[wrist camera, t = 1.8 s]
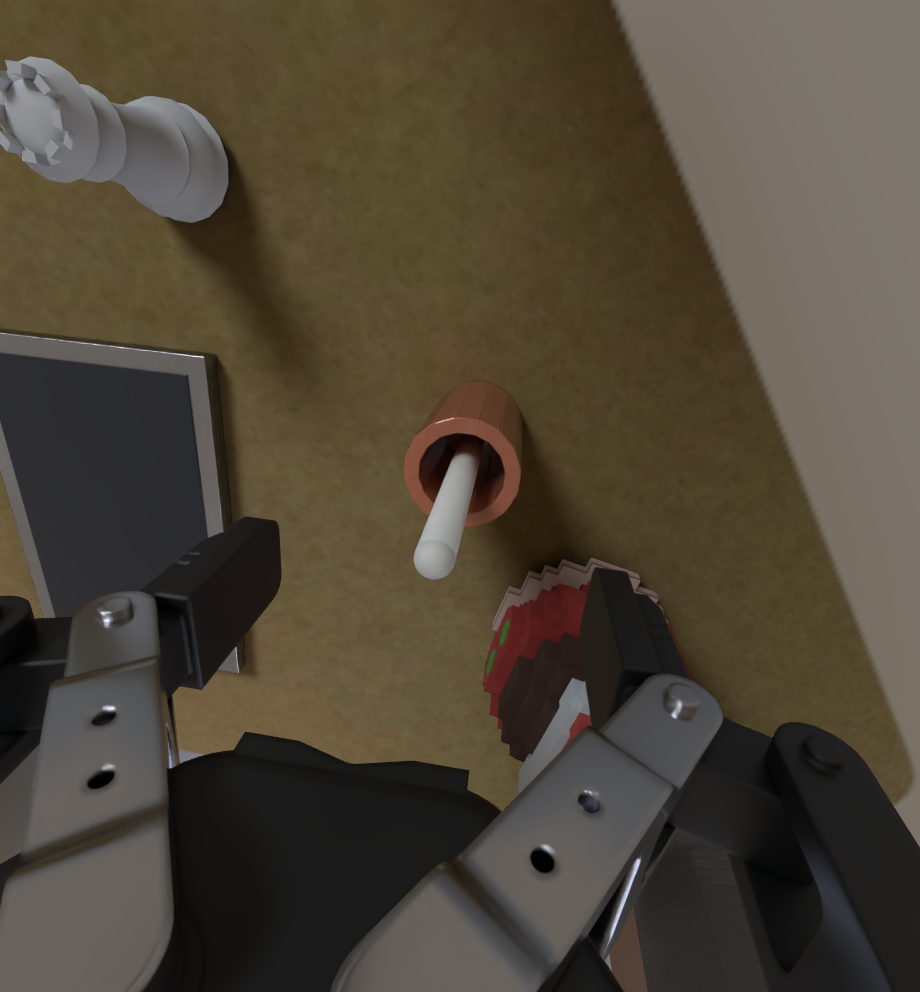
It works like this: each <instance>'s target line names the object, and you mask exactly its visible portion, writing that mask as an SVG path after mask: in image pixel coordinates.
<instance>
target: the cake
mask: <svg viewBox="0 0 920 992" xmlns="http://www.w3.org/2000/svg"><path fill="white" fill-rule="evenodd" d="M595 567H600V568H607V569H614V570H621V571H626V572H627V573H628V575H629V578H630V581H631V584H632V587H633V590H634V593H639V594H645V595H648V596H649V597H650V598H651V599H652V600H653V601H654V602H655V603H657V601H658V600H659V599H658V596H657V594H656V592H654V591H651V590H648V589H646V588H643V587H640V586H638V585H639V583H640V581H641V580H640V577H639V575H638V574H637V573H634V572H631V571H628V570H626V569H623V568H620V567H617V566H614V565H612V564H609V563H606V562H603V561H600V560H598V559H595V558H592V557H591V558H590V560H589V562H588V564H587V566H586V567H584V566H581V565H578V564H575V563H572V562H570V561H567V560H564V559H562V560H561V563H560V565H559V567H558V569H556V568H553V567H551V566H548V565H545V567H544V569H543V571H542V574H538V573H535V572H532V571H529V573H528V575H527V577H526V579H525V581H524V583H523V585H522V588H521V590H520V589H517V588H514V587H511V586H509V587H508V589H507V592H506V594H505V596H504V598H503V601H502V603H501V605H500V607H499V609H498V612H497V614H496V616H495V618H494V620H493V625H492V630H495V631H497V632H496V634H495V636H494V639H493V641H492V643H491V645H490V650H489V653H488V658H487V660H486V662H485V671H484V681H483V686H485V688H484V691H486V692H489V693H491V705H490V715H492V716H495V717H498V728H499V729H502V736H501V742H504V743H507V744H509V745H510V756H512V757H514V759H517V760H520V761H523V762H524V763H523V765H522V767H521V769H520V770H519V772H518V793H521V792H522V791H523V790H524V789H525V788H526V787H527V785H528V784H529V783H530V782H531V781H532V780H533V779H534V778H535V777H536V776H537V775H538V774H539V773H540V772H541V771H542V770H543V769H544V768H545V767H546V766H547V765H548V764H549V763H550V762H551V761H552V760H553V759H554V758H555V757H556V756H557V755H558V754H559V753H560V752H561V751H562V750H563V748H564V747H565V746H566V745H567V744H568V743H569V742H570V741H571V740H572V739H573V738H574V737H575V736H576V735H577V734H578V733H579V732H580V731H581V730H582V729H583V728H585V727H586V726H592V724H591V717H590V711H589V704H588V697H587V690H586V684H585V677H584V670H583V663H582V657H581V650H580V625H581V619H582V614H583V610H584V606H585V602H586V597H587V593H588V589H589V584H590V580H591V576H592V573H593V570H594V568H595ZM657 605H658V604H657ZM658 606H659V607H660V608H661V609H662V612H663V614H664V611H663V608H662V606H660V605H658ZM666 621H667V627H669V629H670V631H671V628H670V625H669V623H668V620H667V619H666ZM671 634H672V636H673V637H672V639H673V640H674V641H675V643H676V640H675V638H674V635H673V633H672V631H671ZM676 646H677V648H678V651H679V653H680V655H681V652H680V650H679V647H678V645H677V643H676ZM681 658H682V660H683V663H684V665H685V668H686V670H687V672H688V669H687V667H686V664H685V662H684V659H683V657H682V655H681ZM688 675H689V677H690V674H689V672H688ZM690 680H691V681H692V679H691V677H690ZM610 960H611V969H612V973H613V975H614V976H615V978H616V980H617V981H618V983H619V984H620V986H621V987H622V989H623V991H624V992H648V991H647V985H646V979H645V973H644V967H643V961H642V955H641V949H640V943H639V937H638V932H637V926H636V920H635V914H634V908H632V910H631V912H630V914H629V916H628V918H627V920H626V922H625V924H624V926H623V928H622V930H621V932H620V934H619V936H618V938H617V940H616V942H615V944H614V946H613V947H612V949H611V951H610Z"/></svg>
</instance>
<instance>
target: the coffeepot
mask: <svg viewBox="0 0 920 992" xmlns="http://www.w3.org/2000/svg"><path fill="white" fill-rule="evenodd" d="M633 908H634V914H635V920H636V926H637V932H638V937H639V943H640V949H641V955H642V961H643V967H644V973H645V979H646V985H647V991H648V992H768V989H767V986H766V982H765V979H764V976H763V972H762V969H761V965H760V962H759V959H758V955H757V952H756V948H755V945H754V942H753V938H752V935H751V931H750V928H749V925H748V921H747V918H746V914H745V911H744V908H743V904H742V901H741V897H740V894H739V891H738V887H737V884H736V880H735V877H734V874H733V870H732V867H731V863H730V860H729V857H728V853H727V852H726V851H724V850H722V849H720V848H718V847H715V846H713V845H711V844H709V843H707V842H705V841H703V840H701V839H699V838H697V837H695V836H693V835H691V834H688V833H686V832H684V831H682V830H680V829H678V831H677V832H676V834H675V836H674V837H673V839H672V841H671V842H670V844H669V846H668V848H667V849H666V851H665V853H664V854H663V856H662V858H661V859H660V861H659V863H658V865H657V866H656V868H655V870H654V871H653V873H652V875H651V876H650V878H649V880H648V881H647V883H646V885H645V887H644V888H643V890H642V892H641V893H640V895H639V897H638V899H637V900H636V902H635V904H634V906H633Z"/></svg>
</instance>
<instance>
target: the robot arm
mask: <svg viewBox="0 0 920 992" xmlns="http://www.w3.org/2000/svg"><path fill="white" fill-rule="evenodd" d="M280 582H281V554H280V535H279V526H278V524H277V522H276V521H274V520H268V519H261V518H254V517H244V518H242V519H241V520H240V521H238V522H237V523H236V524H235V525H234V526H233V527H231V528H230V529H229V530H228V531H227V532H225V533H224V532H221V533H218V534H216V535H214V536H211V537H209V538H207V539H204V540H202V541H201V542H199V543H198V544H197V545H196V546H194V547H193V548H192V549H191V550H190V551H188V554H185V555H183V556H182V557H181V558H180V559H178V560H177V562H176V563H173V564H172V565H171V566H170V567H168V568H167V569H166V570H165V571H163V572H162V573H161V574H160V575H159V576H157V577H156V578H155V579H154V580H152V581H151V582H150V583H149V584H147V585H146V586H145V587H144V588H142V589H141V590H140V591H122V592H116V593H111V594H107V595H104V596H101V597H99V598H96V599H94V600H92V601H90V602H88V603H86V604H85V605H83V606H82V607H81V608H79V609H78V610H77V612H76V613H75V614H74V616H73V617H56V618H38V619H34V615H33V612H32V608H31V605H30V603H29V601H28V600H26V599H24V598H21V597H17V596H0V784H1V783H2V782H3V781H4V780H5V779H6V778H7V777H8V776H9V775H10V774H11V773H12V772H13V770H15V769H16V767H17V766H19V764H20V763H21V762H22V761H23V760H24V759H25V758H26V757H27V756H28V755H29V754H30V753H31V752H32V751H33V750H34V749H35V748H36V747H37V746H38V745H39V750H38V757H37V762H36V767H35V773H34V779H33V785H32V791H31V796H30V802H29V808H28V814H27V820H26V825H25V831H24V837H23V843H22V849H21V853H19V854H17V855H16V856H14V857H12V858H10V859H8V860H7V861H5V862H3V863H1V864H0V992H624V991H623V989H622V987H621V986H620V984H619V983H618V981H617V980H616V978H615V976H614V975H613V973H612V972H611V970H610V969H609V967H608V965H607V964H606V963H605V960H606V958H607V956H608V955H609V953H610V951H611V949H612V947H613V946H614V944H615V942H616V940H617V938H618V936H619V934H620V932H621V930H622V928H623V926H624V924H625V922H626V920H627V918H628V916H629V914H630V912H631V910H632V908H633V906H634V904H635V902H636V900H637V899H638V897H639V895H640V893H641V892H642V890H643V888H644V887H645V885H646V883H647V881H648V880H649V878H650V876H651V875H652V873H653V871H654V870H655V868H656V866H657V865H658V863H659V861H660V859H661V858H662V856H663V854H664V853H665V851H666V849H667V848H668V846H669V844H670V842H671V841H672V839H673V837H674V836H675V834H676V832H677V831H678V829H680V830H682V831H684V832H686V833H688V834H691V835H693V836H695V837H697V838H699V839H701V840H703V841H705V842H707V843H709V844H711V845H713V846H715V847H718V848H720V849H722V850H724V851H726V852H727V853H728V857H729V860H730V863H731V867H732V870H733V874H734V877H735V880H736V884H737V887H738V891H739V894H740V897H741V901H742V904H743V908H744V911H745V914H746V918H747V921H748V925H749V928H750V931H751V935H752V938H753V942H754V945H755V948H756V952H757V955H758V959H759V962H760V965H761V969H762V972H763V976H764V979H765V982H766V986H767V989H768V992H920V847H919V846H918V844H917V842H916V841H915V839H914V838H913V836H912V834H911V833H910V831H909V830H908V828H907V827H906V825H905V823H904V822H903V820H902V819H901V817H900V816H899V814H898V812H897V811H896V809H895V808H894V806H893V805H892V803H891V802H890V800H889V798H888V797H887V795H886V794H885V792H884V791H883V789H882V787H881V786H880V784H879V783H878V781H877V780H876V778H875V776H874V775H873V773H872V772H871V770H870V769H869V767H868V765H867V764H866V763H865V761H864V760H863V759H862V758H861V757H860V755H859V754H858V753H857V752H856V751H854V750H853V749H852V748H851V747H850V746H849V745H847V744H846V743H845V742H844V741H842V740H841V739H839V738H838V737H836V736H834V735H832V734H831V733H829V732H827V731H825V730H823V729H820V728H818V727H815V726H812V725H809V724H805V723H798V722H790V723H785V724H782V725H781V726H779V727H778V728H777V730H776V732H775V734H774V736H773V738H772V737H769V736H767V735H764V734H762V733H759V732H757V731H754V730H752V729H749V728H746V727H744V726H741V725H739V724H737V723H734V722H732V721H730V720H728V719H726V718H725V717H723V712H722V709H721V707H720V705H719V703H718V702H717V700H716V699H715V698H714V697H713V696H712V695H711V694H710V693H709V692H708V691H707V690H706V689H704V688H703V687H702V686H700V685H698V684H697V683H695V682H693V681H691V680H690V677H689V675H688V672H687V670H686V668H685V665H684V663H683V660H682V658H681V655H680V653H679V651H678V648H677V646H676V643H675V641H674V640H673V639H672V637H673V636H672V634H671V631H670V629H669V627H667V621H666V619H665V617H664V614H663V612H662V609H661V608H660V607H659V606H658V605H657V604H656V603H655V602H654V601H653V600H652V599H651V598H650V597H649V596H648V595H645V594H639V593H634V590H633V587H632V584H631V581H630V578H629V575H628V573H627V572H626V571H621V570H614V569H607V568H600V567H595V568H594V570H593V573H592V576H591V580H590V584H589V589H588V593H587V597H586V602H585V606H584V610H583V614H582V619H581V625H580V650H581V657H582V663H583V670H584V677H585V684H586V690H587V697H588V704H589V711H590V717H591V724H592V726H586V727H585V728H583V729H582V730H581V731H580V732H579V733H578V734H577V735H576V736H575V737H574V738H573V739H572V740H571V741H570V742H569V743H568V744H567V745H566V746H565V747H564V748H563V750H562V751H561V752H560V753H559V754H558V755H557V756H556V757H555V758H554V759H553V760H552V761H551V762H550V763H549V764H548V765H547V766H546V767H545V768H544V769H543V770H542V771H541V772H540V773H539V774H538V775H537V776H536V777H535V778H534V779H533V780H532V781H531V782H530V783H529V784H528V785H527V787H526V788H525V789H524V790H523V791H522V792H521V793H520V794H519V795H518V796H517V797H516V798H515V799H514V800H513V801H512V802H511V803H510V804H509V805H508V806H507V807H506V808H505V809H504V810H503V811H501V810H500V809H498V808H497V807H496V806H494V805H493V804H492V803H490V802H489V801H487V800H486V799H484V798H482V797H481V796H479V795H477V794H475V793H473V792H471V791H469V790H467V786H468V777H469V770H464V769H458V768H452V767H446V766H441V765H435V764H429V763H423V762H418V761H399V762H382V763H365V764H351V763H347V762H344V761H342V760H340V759H338V758H335V757H333V756H331V755H329V754H327V753H324V752H322V751H320V750H318V749H316V748H313V747H311V746H309V745H307V744H305V743H302V742H300V741H297V740H291V739H285V738H279V737H273V736H268V735H262V734H256V733H250V732H245V733H244V735H243V736H242V738H241V739H240V741H239V743H238V744H237V746H236V747H235V749H234V750H230V751H222V752H216V753H211V754H207V755H203V756H200V757H197V758H194V759H191V760H188V761H185V762H183V763H180V760H179V750H178V740H177V731H176V721H175V711H174V703H173V697H172V694H173V693H174V692H175V691H176V690H177V689H178V687H179V686H182V687H188V688H194V689H199V690H202V689H203V687H204V686H205V685H206V684H207V682H208V681H209V680H210V679H211V677H212V676H213V675H214V674H215V672H216V671H217V670H218V668H219V667H220V666H221V665H222V663H223V662H224V661H225V660H226V658H227V657H228V656H229V655H230V653H231V652H232V651H233V649H234V648H235V647H236V646H237V644H238V643H239V642H240V641H241V639H242V638H243V637H244V636H245V634H246V633H247V632H248V630H249V629H250V628H251V627H252V625H253V624H254V623H255V622H256V620H257V619H258V618H259V617H260V615H261V614H262V613H263V611H264V610H265V609H266V608H267V606H268V605H269V604H270V603H271V601H272V600H273V599H274V597H275V596H276V594H277V592H278V589H279V586H280Z"/></svg>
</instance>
